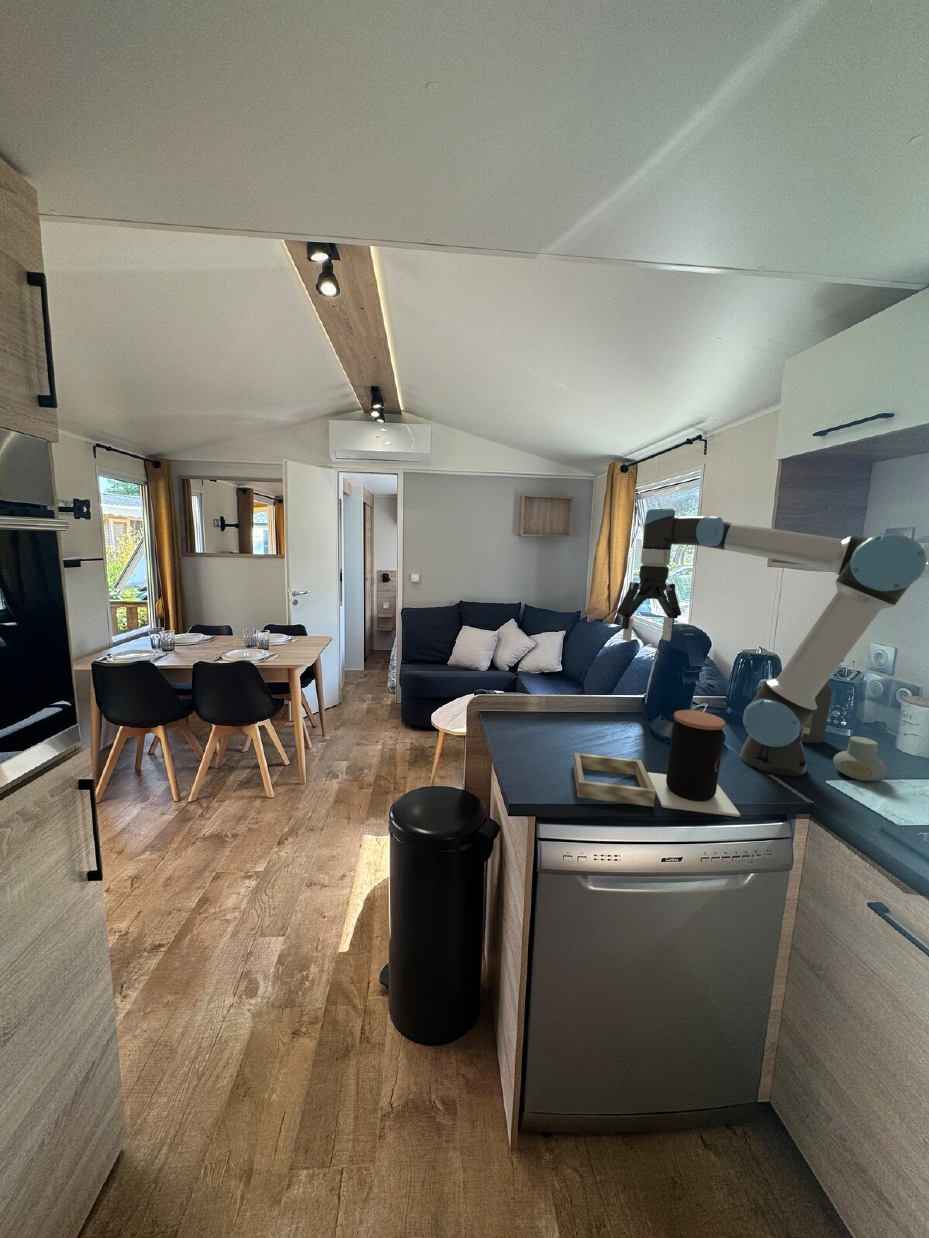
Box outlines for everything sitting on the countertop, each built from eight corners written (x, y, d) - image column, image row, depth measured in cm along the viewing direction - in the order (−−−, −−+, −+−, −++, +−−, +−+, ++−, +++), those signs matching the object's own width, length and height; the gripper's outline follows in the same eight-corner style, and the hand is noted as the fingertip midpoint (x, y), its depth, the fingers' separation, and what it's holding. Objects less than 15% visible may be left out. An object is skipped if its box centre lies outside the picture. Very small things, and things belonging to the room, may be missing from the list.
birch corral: (639, 773, 123) (640, 760, 123) (653, 806, 107) (655, 791, 107) (573, 765, 126) (574, 752, 125) (577, 797, 110) (579, 782, 109)
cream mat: (714, 782, 121) (714, 779, 120) (739, 816, 105) (740, 814, 105) (646, 774, 123) (647, 772, 123) (662, 807, 107) (662, 804, 107)
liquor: (804, 732, 160) (819, 642, 155) (828, 743, 151) (845, 648, 146) (779, 732, 159) (793, 641, 154) (802, 743, 150) (818, 647, 145)
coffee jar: (721, 806, 108) (732, 728, 105) (670, 799, 110) (679, 722, 107) (707, 783, 118) (717, 712, 115) (661, 777, 120) (669, 707, 117)
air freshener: (886, 779, 127) (893, 743, 126) (881, 789, 122) (888, 751, 120) (835, 764, 135) (841, 730, 134) (828, 772, 130) (834, 737, 128)
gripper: (680, 566, 143) (672, 637, 146) (608, 563, 135) (601, 638, 138) (700, 567, 136) (691, 642, 139) (625, 564, 128) (617, 643, 131)
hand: (646, 640), depth 139 cm, fingers open, 13 cm apart
